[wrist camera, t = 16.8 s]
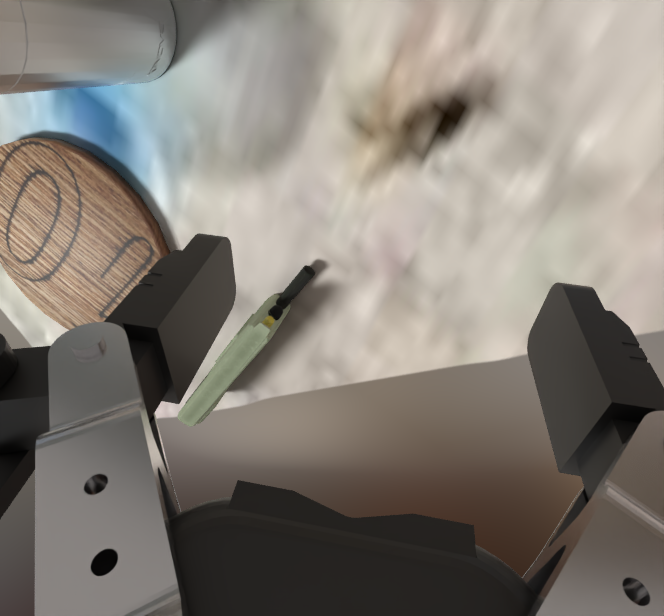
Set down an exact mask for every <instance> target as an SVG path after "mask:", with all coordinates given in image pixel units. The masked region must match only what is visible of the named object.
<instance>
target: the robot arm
mask: <svg viewBox="0 0 664 616" xmlns="http://www.w3.org/2000/svg"><path fill="white" fill-rule="evenodd" d="M175 45H176V23H175V16H174V11H173V8H172V5H171V2H170V0H0V94H12V93H24V92H36V91H49V90H61V89H73V88H86V87H98V86H111V85H124V84H135V83H145V82H150V81H152V80H155V79H157V78H158V77H159V76H161V75H162V74H163V73H164V72H165V71H166V69H167V68H168V66H169V65H170V63H171V60H172V57H173V55H174V51H175ZM235 295H236V284H235V275H234V267H233V258H232V250H231V243H230V240H229V239H228V238H227V237H221V236H214V235H206V234H197V235H195V236H194V238H193V239H192V240H191V241H190V242H189V244H188V245H187V246H186V247H185V248H184V250H183V251H181V250H175V251H173V252H171V253H170V254H168V255H166V256H164V257H163V258H161V259H159V260H158V261H157V262H156V263H155V264H154V266H153V267H152V268H151V269H150V270H149V271H148V274H147V275H145V276H144V277H143V278H142V279H141V280H140V281H139V282H138V285H136V286H135V287H134V288H133V289H132V290H131V291H130V292H129V294H128V295H127V296H126V297H125V298H124V299H123V300H122V301H121V303H120V304H119V305H118V306H117V307H116V308H115V309H114V310H113V312H112V313H111V314H110V315H109V316H108V317H107V318H106V319H105V321H104V322H93V323H88V324H84V325H80V326H78V327H75V328H73V329H71V330H69V331H67V332H65V333H64V334H62V335H61V336H60V337H59V338H57V339H56V341H55V342H54V343H53V344H52V346H45V347H33V348H21V349H11V347H10V346H9V344H8V343H7V341H6V339H5V338H4V336H3V335H2V334H0V519H1V517H2V516H3V514H4V513H5V511H6V510H7V509H8V507H9V506H10V504H11V503H12V501H13V500H14V498H15V497H16V495H17V494H18V493H19V491H20V490H21V488H22V487H23V486H24V484H25V483H26V481H27V480H28V478H29V477H30V476H31V474H32V473H33V471H34V470H35V616H664V388H663V386H662V384H661V382H660V381H659V379H658V377H657V375H656V373H655V372H654V370H653V368H652V366H651V364H650V363H647V357H646V356H645V354H644V352H643V350H642V349H641V348H639V343H638V341H637V339H636V338H635V336H634V334H633V332H632V330H631V329H630V327H629V326H628V325H627V324H625V323H624V322H623V321H622V320H621V319H620V318H619V317H618V316H617V315H616V314H614V313H613V312H612V311H606V310H605V309H604V307H603V305H602V303H601V301H600V300H599V298H598V296H597V294H596V292H595V290H594V289H593V288H592V287H587V286H580V285H572V284H565V283H555V284H554V285H553V286H552V287H551V289H550V291H549V293H548V295H547V297H546V299H545V301H544V303H543V306H542V308H541V310H540V312H539V314H538V316H537V318H536V320H535V322H534V324H533V326H532V329H531V331H530V334H529V338H528V346H527V350H528V356H529V361H530V364H531V368H532V372H533V376H534V379H535V383H536V387H537V391H538V395H539V398H540V402H541V406H542V410H543V414H544V417H545V421H546V425H547V429H548V432H549V436H550V440H551V444H552V448H553V451H554V455H555V459H556V463H557V467H558V470H559V472H560V473H566V474H571V475H578V476H581V477H582V481H583V484H584V487H583V488H582V490H581V491H580V492H579V493H578V494H577V496H576V498H575V499H574V501H573V502H572V504H571V505H570V507H569V509H568V510H567V512H566V513H565V515H564V517H563V518H562V520H561V521H560V523H559V525H558V526H557V528H556V529H555V531H554V533H553V534H552V536H551V537H550V539H549V540H548V542H547V544H546V545H545V547H544V548H543V550H542V552H541V553H540V555H539V556H538V557H537V559H536V560H535V562H534V563H533V565H532V566H531V567H530V568H529V570H528V571H527V572H526V574H525V575H524V576H523V578H521V577H520V576H519V575H518V574H517V573H516V572H515V571H514V570H513V569H512V568H510V567H509V566H508V565H506V564H505V563H504V562H502V561H501V560H500V559H498V558H497V557H496V556H494V555H492V554H491V553H489V552H487V551H486V550H484V549H483V548H481V547H479V546H476V545H475V535H474V525H469V524H464V523H459V522H454V521H448V520H443V519H438V518H432V517H428V516H422V515H417V514H404V515H390V516H377V517H363V518H351V517H347V516H344V515H342V514H340V513H338V512H336V511H334V510H332V509H330V508H328V507H326V506H324V505H321V504H320V503H317V502H315V501H313V500H311V499H309V498H307V497H305V496H303V495H300V494H299V493H297V492H295V491H292V490H286V489H281V488H276V487H271V486H265V485H260V484H254V483H250V482H244V481H239V480H238V481H237V484H236V487H235V490H234V493H233V495H232V497H229V498H221V499H216V500H211V501H208V502H205V503H202V504H199V505H196V506H193V507H191V508H189V509H187V510H185V511H182V512H181V510H180V507H179V504H178V500H177V497H176V494H175V491H174V487H173V483H172V480H171V476H170V472H169V468H168V464H167V459H166V455H165V451H164V447H163V443H162V440H161V436H160V431H159V427H158V423H157V419H156V416H155V413H154V412H155V411H156V409H157V407H158V406H159V404H160V402H161V401H165V402H170V403H176V404H179V403H180V402H181V400H182V398H183V396H184V394H185V393H186V391H187V389H188V387H189V385H190V384H191V382H192V380H193V378H194V376H195V375H196V373H197V371H198V369H199V367H200V366H201V364H202V362H203V360H204V358H205V357H206V355H207V353H208V351H209V349H210V348H211V346H212V344H213V342H214V340H215V338H216V337H217V335H218V333H219V331H220V329H221V328H222V326H223V324H224V322H225V320H226V319H227V317H228V315H229V313H230V311H231V310H232V307H233V305H234V301H235Z"/></svg>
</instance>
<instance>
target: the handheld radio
mask: <svg viewBox="0 0 664 616" xmlns="http://www.w3.org/2000/svg"><path fill="white" fill-rule="evenodd" d="M314 275H315V272H314V270H313V269H312V268H311V267H310V266H304V267H303V269H302V270H301V271H300V272H299V274H298V275H297V276H296V277H295V278H294V280H293V281H292V282H291V283H290V285H289V286H288V287H287V288H286V289H285V291H284V293H283V294H282V295H281V296H280V295H278V294H274V295H272V296H271V297H270V298H268V299H267V300H266V301H265V302H264V304H263V305H262V306H261V307H260V308H259V309H258V311H257V312H256V313H255V314H252V316H251V317H250V318H249V319H248V321H247V322H246V323H245V324H244V326H243V327H242V328H241V329H240V331H239V332H238V333H237V334H236V336H235V337H234V338H233V340H231V342H230V343H229V345H228V346H227V347H226V349H225V350H224V351H223V352H222V354H221V355H220V356H219V358H218V359H217V360H216V364H215V365H214V367H213V368H212V369H211V371H210V372H209V374H208V375H207V376H206V377H205V379H204V380H203V381H202V382H201V384H200V385H199V386H198V388H197V389H196V390H195V391H194V393H193V394H192V395H191V397H190V398H189V399H188V401H187V402H186V404H185V405H184V406H183V408H182V409H181V410H180V412H179V414H178V419H179V420H180V421H181V422H183V423H184V424H186V425H188V426H190V427H191V426H194V425H196V424H199V423H201V422H202V421H203V420H204V419H205V418H206V417H207V416H208V415H209V414H210V412H211V411H212V410H213V409H214V408H215V407H216V405H217V404H218V402H219V401H220V400H221V398H222V397H223V395H224V394H225V392H226V391H227V389H228V388H229V386H230V385H231V384H232V383H233V382H234V380H235V379H236V378H237V377H238V376H239V375H240V374H241V373H242V371H243V370H244V369H245V368H246V367H247V366H248V365H249V363H250V362H251V361H252V360H253V359H254V358H255V357H256V356H257V354H258V353H259V352H260V351H261V350H262V349H263V348H264V346H265V345H266V344H267V343H268V342H269V340H270V339H271V338H272V336H273V335H274V333H275V332H276V330H277V329H278V327H279V326H280V324H281V323H282V321H283V319H284V318H285V316H286V315H287V313H288V312H289V310H290V307H291V306H290V302H291V300H292V299H294V298H295V297H296V296H297V295H298V293H299V292H300V291H301V290H302V289H303V288H304V286H305V285H306V284H307V283H308V282H309V280H310V279H311V278H312V277H313V276H314Z"/></svg>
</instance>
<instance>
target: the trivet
mask: <svg viewBox="0 0 664 616" xmlns="http://www.w3.org/2000/svg"><path fill="white" fill-rule="evenodd" d="M168 254H170V251H169V249H168V246H167V244H166V241H165V239H164V236H163V234H162V232H161V229H160V227H159V224H158V222H157V221H156V219H155V218H154V216H153V215H152V213H151V212H150V210H149V209H148V207H147V206H146V204H145V203H144V201H143V199H142V198H141V196H140V195H139V194H138V193H137V192H136V191H135V190H134V189H133V188H132V187H131V186H130V185H129V183H128V182H127V181H126V180H125V179H124V178H123V177H122V176H121V175H120V174H119V173H118V172H117V171H116V170H115V169H113V168H112V167H111V166H109V165H108V164H106V163H105V162H104V161H102V160H101V159H99V158H98V157H97V156H95V155H94V154H92V153H91V152H90V151H87V150H85V149H83V148H80V147H78V146H76V145H73V144H71V143H68V142H66V141H64V140H59V139H51V138H42V137H33V138H28V139H23V140H19V141H16V142H12V143H8V144H5V145H2V146H1V147H0V263H1V264H2V266H3V267H4V269H5V271H6V272H7V274H8V275H9V277H10V278H11V279H12V280H13V281H14V283H15V284H16V285H17V286H18V287H19V289H20V290H21V291H22V292H23V294H24V295H25V296H26V297H27V298H28V299H29V300H30V301H32V302H33V303H34V304H35V305H36V306H37V307H38V308H39V309H40V310H41V311H42V312H44V313H45V314H46V315H47V316H49V317H50V318H52V319H53V320H55V321H56V322H58V323H59V324H61V325H62V326H63V327H65V328H67V329H69V330H71V329H73V328H75V327H78V326H80V325H84V324H88V323H93V322H104V321H105V319H106V318H107V317H108V316H109V315H110V314H111V313H112V312H113V310H114V309H115V308H116V307H117V306H118V305H119V304H120V303H121V301H122V300H123V299H124V298H125V297H126V296H127V295H128V294H129V292H130V291H131V290H132V289H133V288H134V287H135V286H136V285H138V282H139V281H140V280H141V279H142V278H143V277H144V276H145V275H147V274H148V271H149V270H150V269H151V268H152V267H153V266H154V264H155V263H156V262H157V261H158V260H159V259H161V258H163V257H164V256H166V255H168Z"/></svg>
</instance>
